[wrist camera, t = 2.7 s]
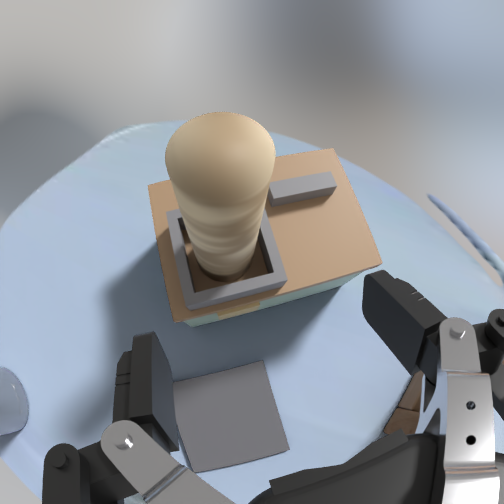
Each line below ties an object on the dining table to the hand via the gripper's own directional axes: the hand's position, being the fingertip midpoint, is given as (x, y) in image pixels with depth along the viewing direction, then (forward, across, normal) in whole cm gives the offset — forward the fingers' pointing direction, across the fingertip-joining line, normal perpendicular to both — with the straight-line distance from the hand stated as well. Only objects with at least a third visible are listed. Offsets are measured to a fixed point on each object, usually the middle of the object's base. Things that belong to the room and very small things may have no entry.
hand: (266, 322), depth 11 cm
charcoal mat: (+11, +4, +22) cm, 25 cm away
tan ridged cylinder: (+14, 0, +4) cm, 15 cm away
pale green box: (+23, -4, +10) cm, 25 cm away
